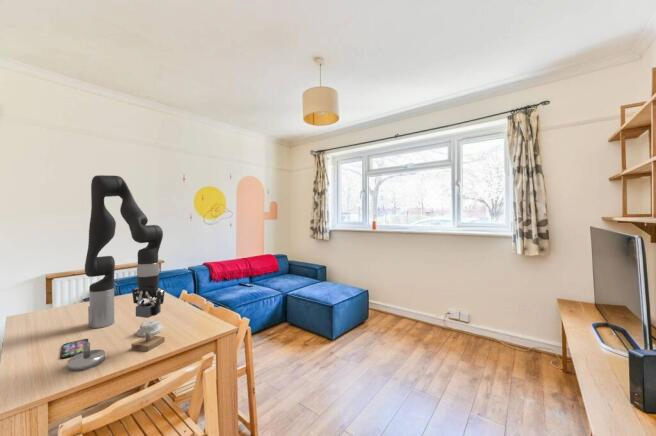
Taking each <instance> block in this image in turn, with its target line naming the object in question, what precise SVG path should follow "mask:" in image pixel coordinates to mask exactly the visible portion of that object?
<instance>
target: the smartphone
mask: <svg viewBox="0 0 656 436" xmlns="http://www.w3.org/2000/svg"><path fill="white" fill-rule="evenodd" d="M85 342H89V338H84V339H83V338H82V339H80V340H75V341H70V342H67V343H66V342H65V343H64V344H63V345H62V346H61V353H60V360H66V359H70V358H71V357H73V356H75V355H77V354H80V353H83V345H84V343H85Z"/></svg>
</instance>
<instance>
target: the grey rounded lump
mask: <svg viewBox="0 0 656 436" xmlns="http://www.w3.org/2000/svg"><path fill="white" fill-rule="evenodd" d="M163 330H164V326H163V325H162V324H161V323H160V321H159V320H157V319H156V320H155V319H153V320H152V319H151V320H147V321H145V322H141V324H140V325H139V329H138V330H136V336H137V337H143V338H144V337H146V333H148V332H151V335H152V336H156V335H157V334H160V333H161V332H163Z"/></svg>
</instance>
